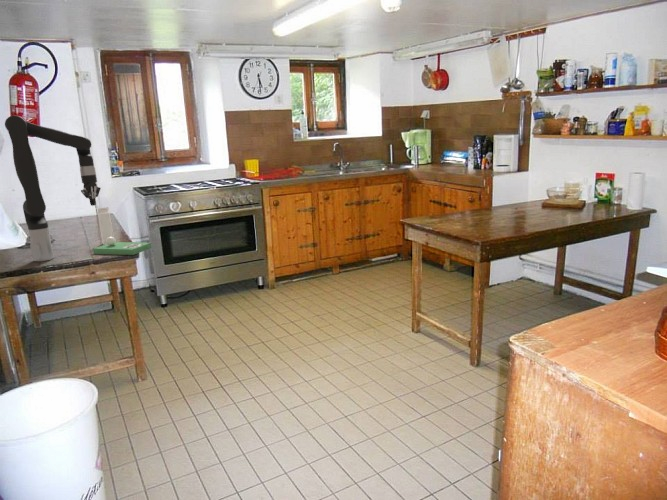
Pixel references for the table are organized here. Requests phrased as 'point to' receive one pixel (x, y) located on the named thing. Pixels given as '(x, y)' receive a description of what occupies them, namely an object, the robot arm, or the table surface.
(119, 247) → the green
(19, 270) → the table surface
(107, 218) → the milk
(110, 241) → the ball
